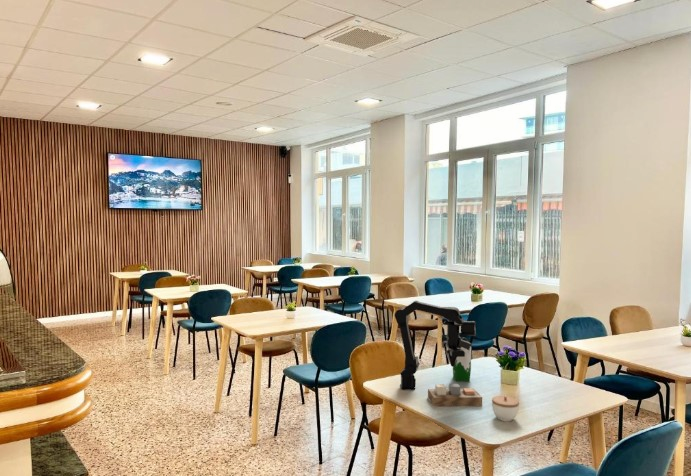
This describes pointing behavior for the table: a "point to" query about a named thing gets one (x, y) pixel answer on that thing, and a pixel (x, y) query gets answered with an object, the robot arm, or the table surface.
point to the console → (454, 399)
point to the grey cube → (454, 389)
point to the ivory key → (440, 389)
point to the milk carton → (463, 366)
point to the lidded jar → (505, 407)
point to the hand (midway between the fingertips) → (452, 366)
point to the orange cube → (468, 391)
